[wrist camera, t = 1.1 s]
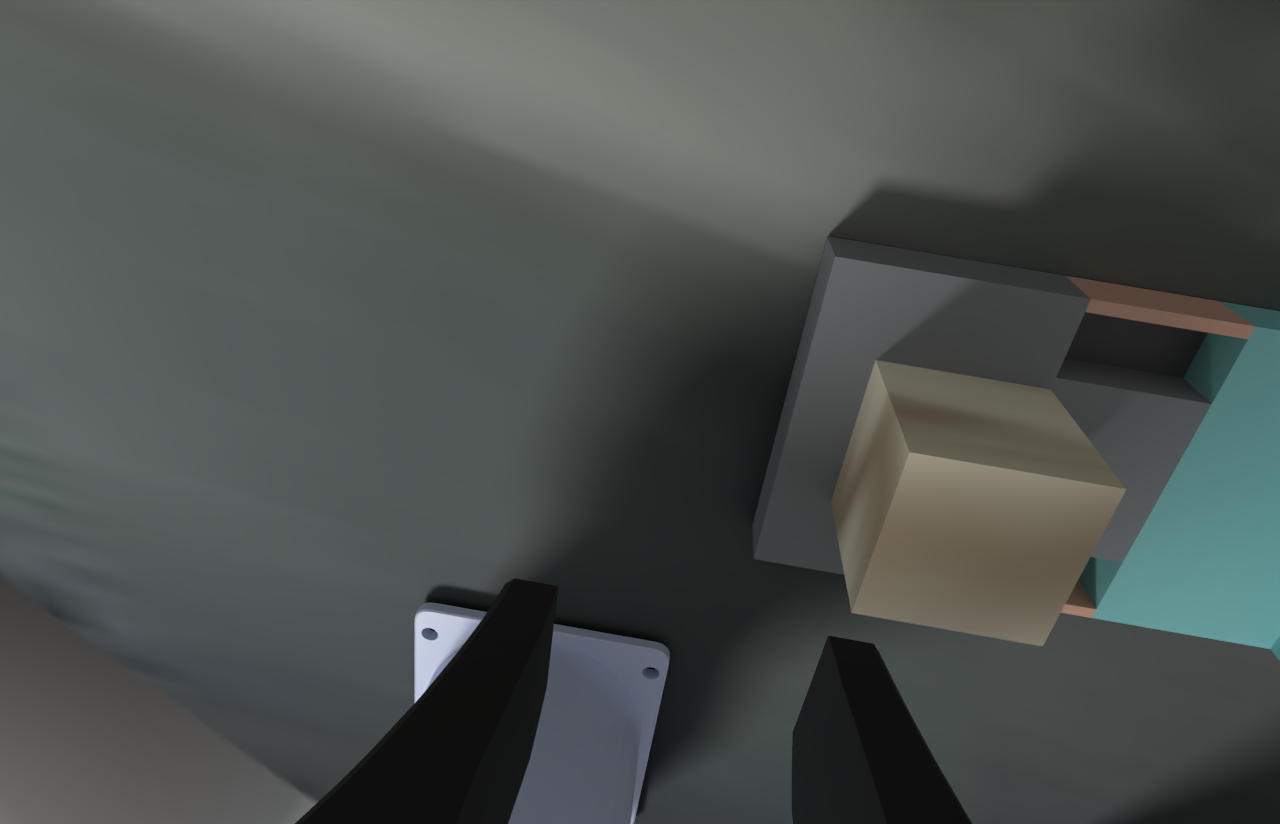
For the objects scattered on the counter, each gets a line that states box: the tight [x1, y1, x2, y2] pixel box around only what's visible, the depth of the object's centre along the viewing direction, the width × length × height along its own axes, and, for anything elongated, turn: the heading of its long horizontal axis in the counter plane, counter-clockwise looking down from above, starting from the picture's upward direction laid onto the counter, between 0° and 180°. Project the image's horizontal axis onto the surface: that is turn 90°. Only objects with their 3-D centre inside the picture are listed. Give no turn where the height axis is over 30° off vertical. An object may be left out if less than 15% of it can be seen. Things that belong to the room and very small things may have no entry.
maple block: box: [831, 360, 1126, 646], centre depth 17 cm, size 4×4×4 cm
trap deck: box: [752, 236, 1280, 661], centre depth 19 cm, size 14×8×4 cm, turn 82°
